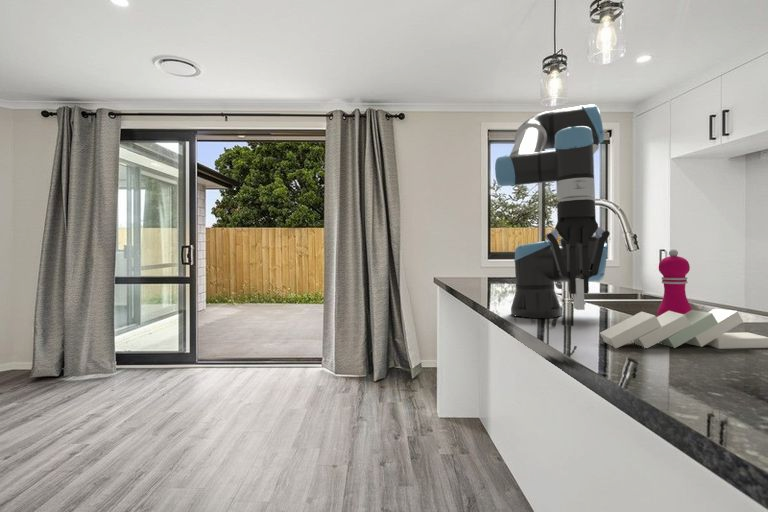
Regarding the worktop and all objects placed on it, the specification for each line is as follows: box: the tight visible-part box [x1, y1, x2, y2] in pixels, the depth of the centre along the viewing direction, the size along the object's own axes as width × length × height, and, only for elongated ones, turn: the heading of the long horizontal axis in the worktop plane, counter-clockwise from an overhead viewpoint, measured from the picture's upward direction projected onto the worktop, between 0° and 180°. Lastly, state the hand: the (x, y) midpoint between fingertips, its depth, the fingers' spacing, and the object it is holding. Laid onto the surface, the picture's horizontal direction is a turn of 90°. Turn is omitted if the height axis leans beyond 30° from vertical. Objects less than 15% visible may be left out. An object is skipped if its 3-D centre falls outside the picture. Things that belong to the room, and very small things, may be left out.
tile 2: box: [631, 311, 691, 349], centre depth 90 cm, size 6×2×10 cm
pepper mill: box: [656, 249, 694, 317], centre depth 100 cm, size 7×7×20 cm
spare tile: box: [658, 309, 718, 349], centre depth 90 cm, size 6×2×10 cm
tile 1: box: [599, 311, 661, 349], centre depth 92 cm, size 6×2×10 cm
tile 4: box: [684, 308, 744, 348], centre depth 90 cm, size 6×2×10 cm
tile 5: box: [705, 331, 768, 350], centre depth 89 cm, size 6×2×10 cm
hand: (579, 308), depth 93 cm, fingers closed
